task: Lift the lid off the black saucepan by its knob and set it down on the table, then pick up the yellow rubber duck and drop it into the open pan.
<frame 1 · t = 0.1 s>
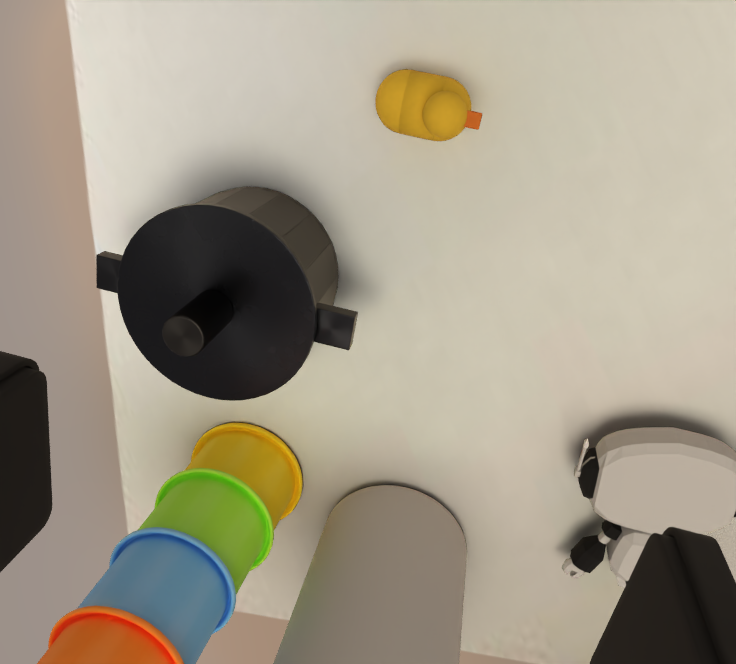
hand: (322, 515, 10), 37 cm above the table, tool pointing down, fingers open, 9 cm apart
pan: (259, 268, 49), on the table
stacking cups: (248, 470, 57), on the table
robot toy: (645, 493, 50), on the table
pan lid: (217, 306, 42), point 8 cm above the table, touching pan
cylinder vase: (395, 537, 57), on the table
duck: (426, 103, 42), on the table
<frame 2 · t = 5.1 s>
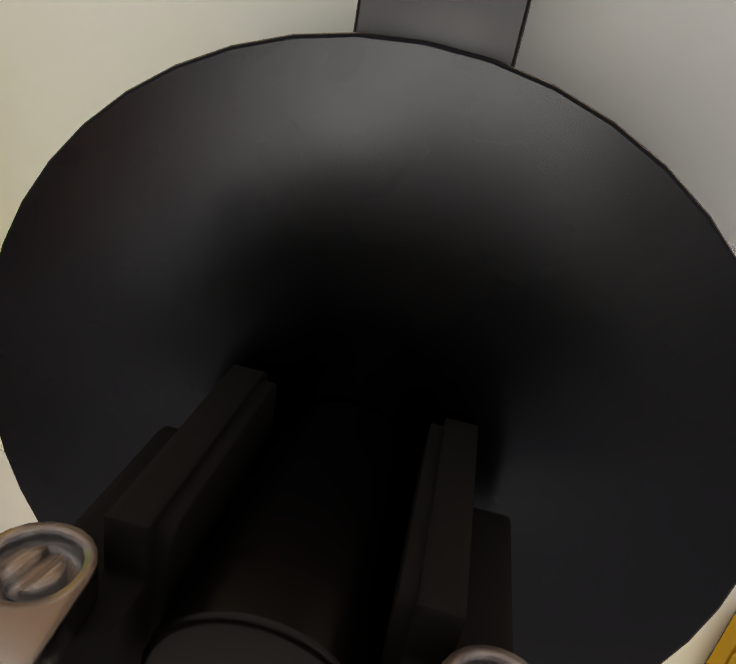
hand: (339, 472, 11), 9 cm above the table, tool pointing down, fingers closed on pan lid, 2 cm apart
pan: (408, 295, 19), on the table
pan lid: (348, 449, 11), point 8 cm above the table, touching gripper, pan
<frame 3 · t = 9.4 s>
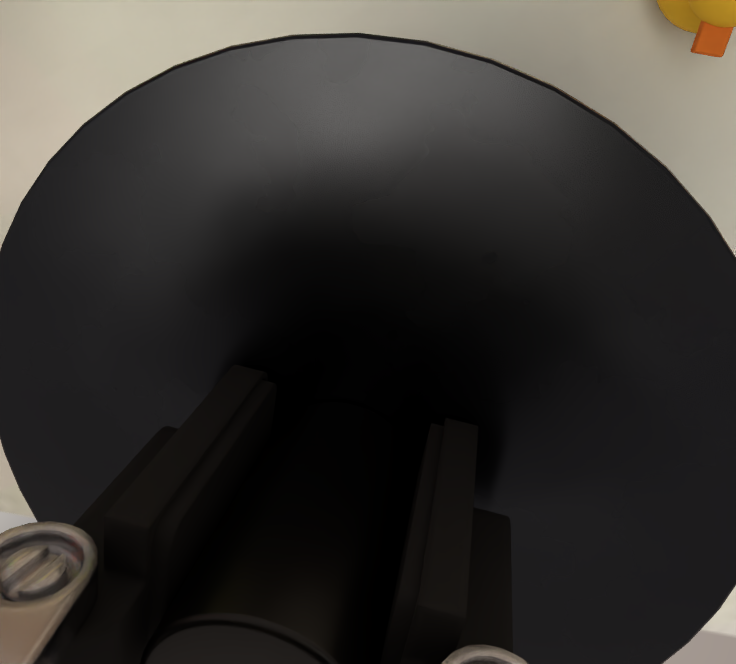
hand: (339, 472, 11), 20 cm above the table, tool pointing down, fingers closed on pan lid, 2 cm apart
pan lid: (348, 450, 11), point 19 cm above the table, touching gripper
when the fingers open (1 cm above the table, at t = 13.7 s): pan lid stays where it is, point 1 cm above the table.
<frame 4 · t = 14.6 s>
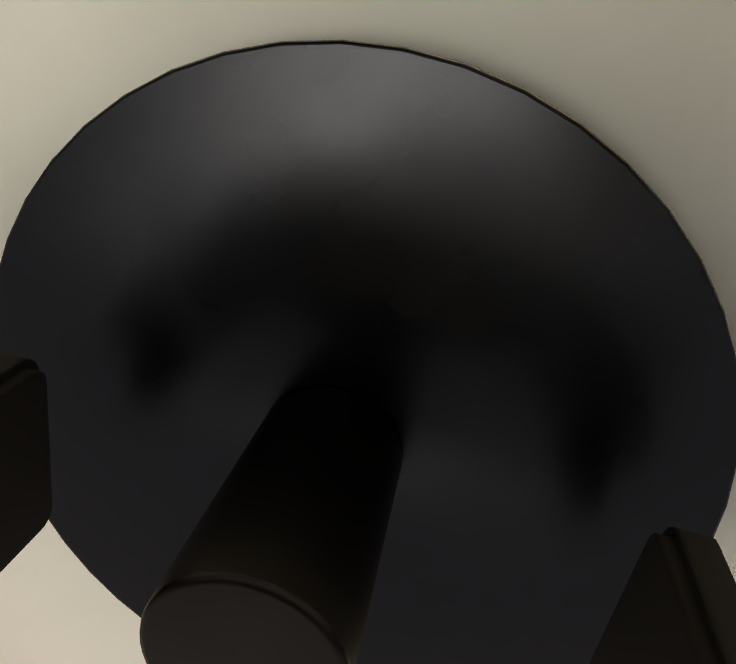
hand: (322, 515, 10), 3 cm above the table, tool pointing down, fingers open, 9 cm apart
pan lid: (336, 434, 12), point 1 cm above the table
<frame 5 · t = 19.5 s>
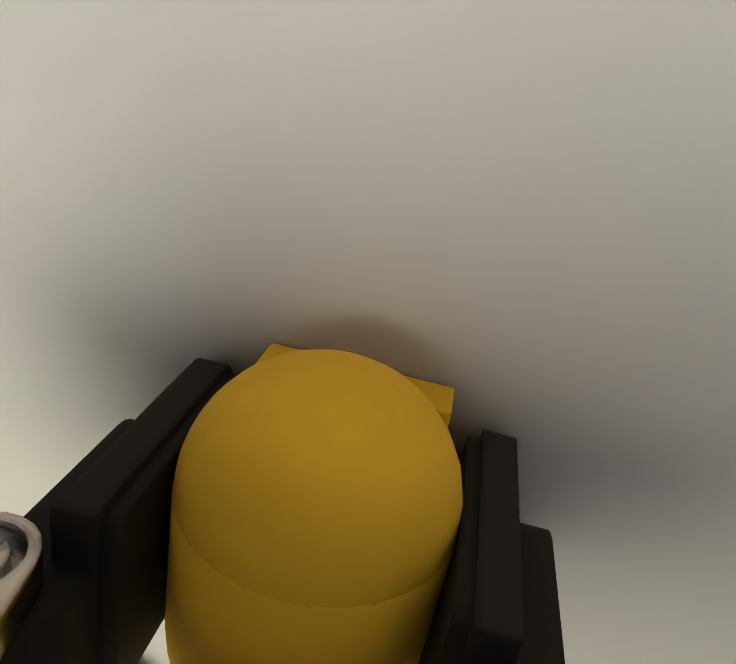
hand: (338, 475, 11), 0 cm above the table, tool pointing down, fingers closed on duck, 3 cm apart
duck: (342, 465, 11), on the table, touching gripper
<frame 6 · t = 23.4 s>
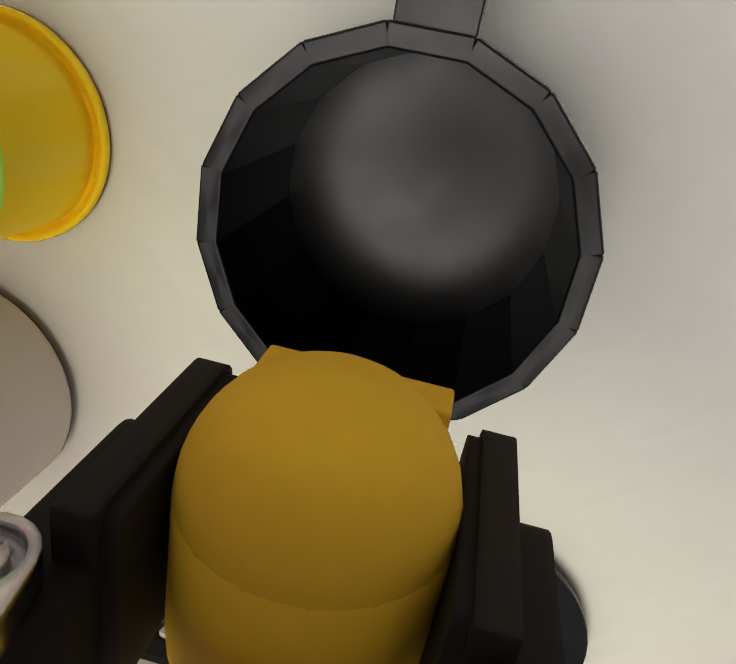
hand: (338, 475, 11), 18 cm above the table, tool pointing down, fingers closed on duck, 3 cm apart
pan: (420, 196, 27), on the table
stacking cups: (12, 127, 29), on the table
robot toy: (151, 652, 42), on the table
pan lid: (457, 624, 35), point 1 cm above the table
duck: (342, 467, 11), point 18 cm above the table, touching gripper
when the fingers open (1 cm above the table, at t = 28.3 s): duck stays where it is, resting on pan.
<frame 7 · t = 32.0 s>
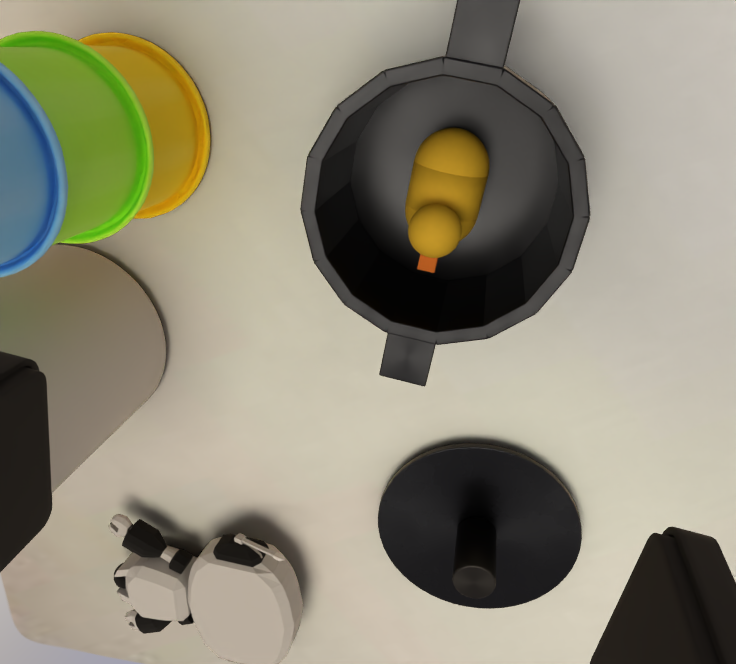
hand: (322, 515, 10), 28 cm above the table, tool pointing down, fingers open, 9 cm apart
pan: (452, 180, 35), on the table
stacking cups: (131, 128, 38), on the table
robot toy: (219, 566, 50), on the table
pan lid: (476, 527, 43), point 1 cm above the table
cylinder vase: (86, 329, 44), on the table
duck: (449, 181, 35), resting on pan
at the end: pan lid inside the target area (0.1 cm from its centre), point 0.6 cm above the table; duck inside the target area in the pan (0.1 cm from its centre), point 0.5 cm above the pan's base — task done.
